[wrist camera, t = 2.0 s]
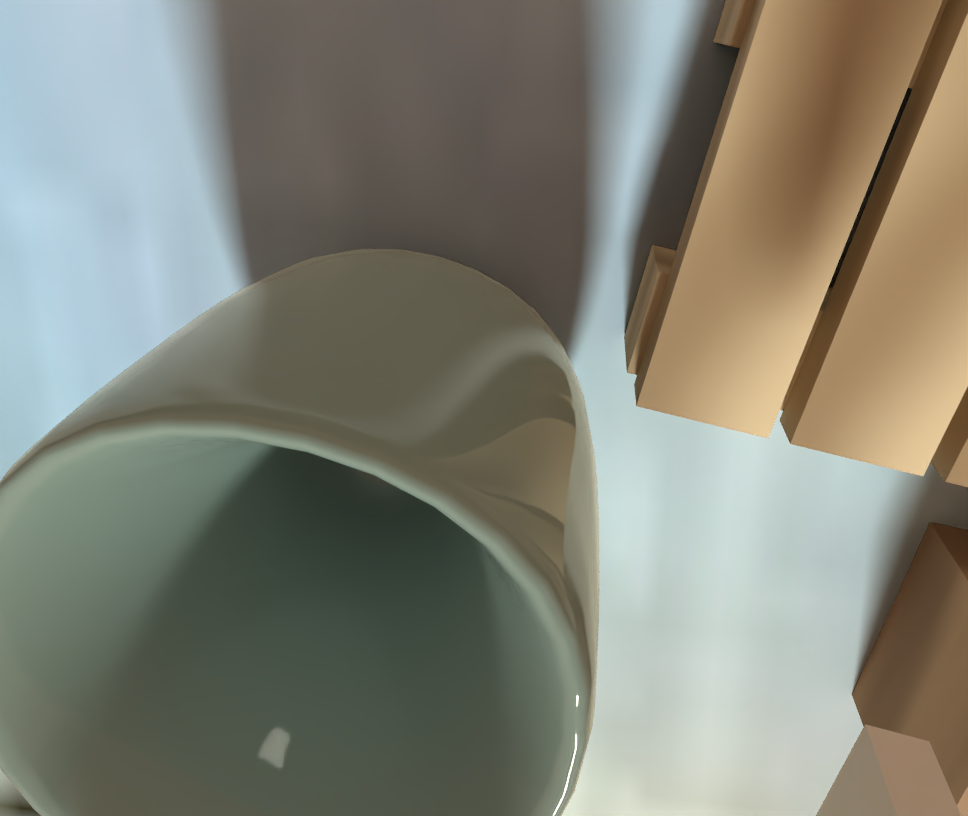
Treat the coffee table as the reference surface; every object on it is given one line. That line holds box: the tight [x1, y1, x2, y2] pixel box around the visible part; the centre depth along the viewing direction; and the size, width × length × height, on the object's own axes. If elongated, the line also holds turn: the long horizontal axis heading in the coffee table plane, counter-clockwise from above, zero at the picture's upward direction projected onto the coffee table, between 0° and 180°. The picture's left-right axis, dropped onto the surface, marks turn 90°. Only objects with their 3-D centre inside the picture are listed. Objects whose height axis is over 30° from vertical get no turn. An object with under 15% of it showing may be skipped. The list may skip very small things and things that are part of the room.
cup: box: [0, 249, 599, 816], centre depth 15 cm, size 8×8×10 cm
